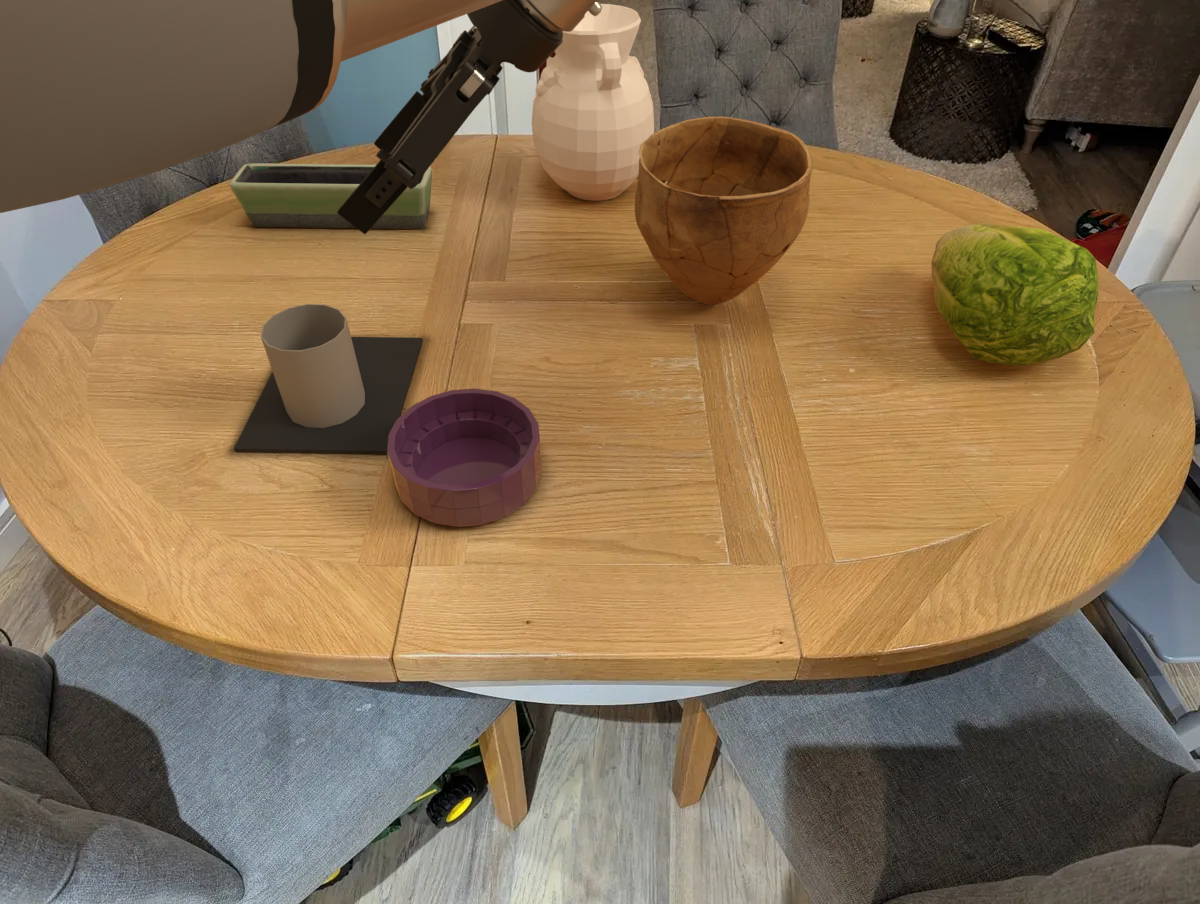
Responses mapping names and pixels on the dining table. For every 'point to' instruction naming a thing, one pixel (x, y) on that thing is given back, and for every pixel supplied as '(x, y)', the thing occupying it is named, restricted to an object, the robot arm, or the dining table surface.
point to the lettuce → (1015, 292)
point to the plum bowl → (465, 457)
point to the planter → (319, 196)
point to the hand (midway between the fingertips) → (370, 185)
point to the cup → (314, 364)
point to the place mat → (365, 433)
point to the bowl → (721, 202)
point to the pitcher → (593, 107)
